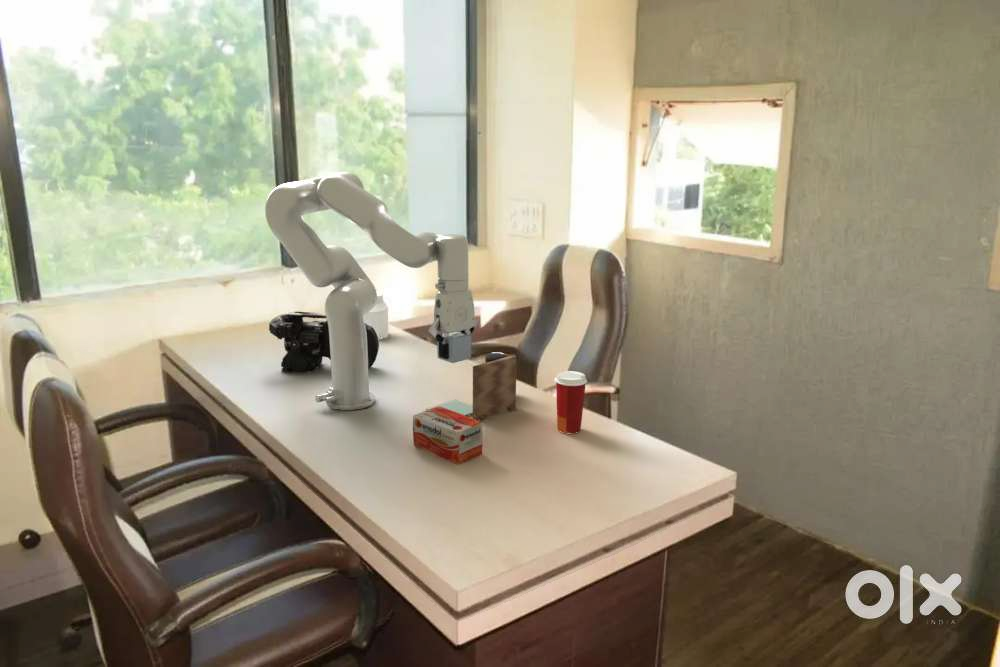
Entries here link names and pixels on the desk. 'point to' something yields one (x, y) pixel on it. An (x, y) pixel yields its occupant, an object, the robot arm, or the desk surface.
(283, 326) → the movie camera
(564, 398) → the paper cup
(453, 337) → the letter cube
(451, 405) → the pad
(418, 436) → the medicine box
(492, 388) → the screen
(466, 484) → the desk surface
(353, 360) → the robot arm
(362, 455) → the desk surface
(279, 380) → the desk surface
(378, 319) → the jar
